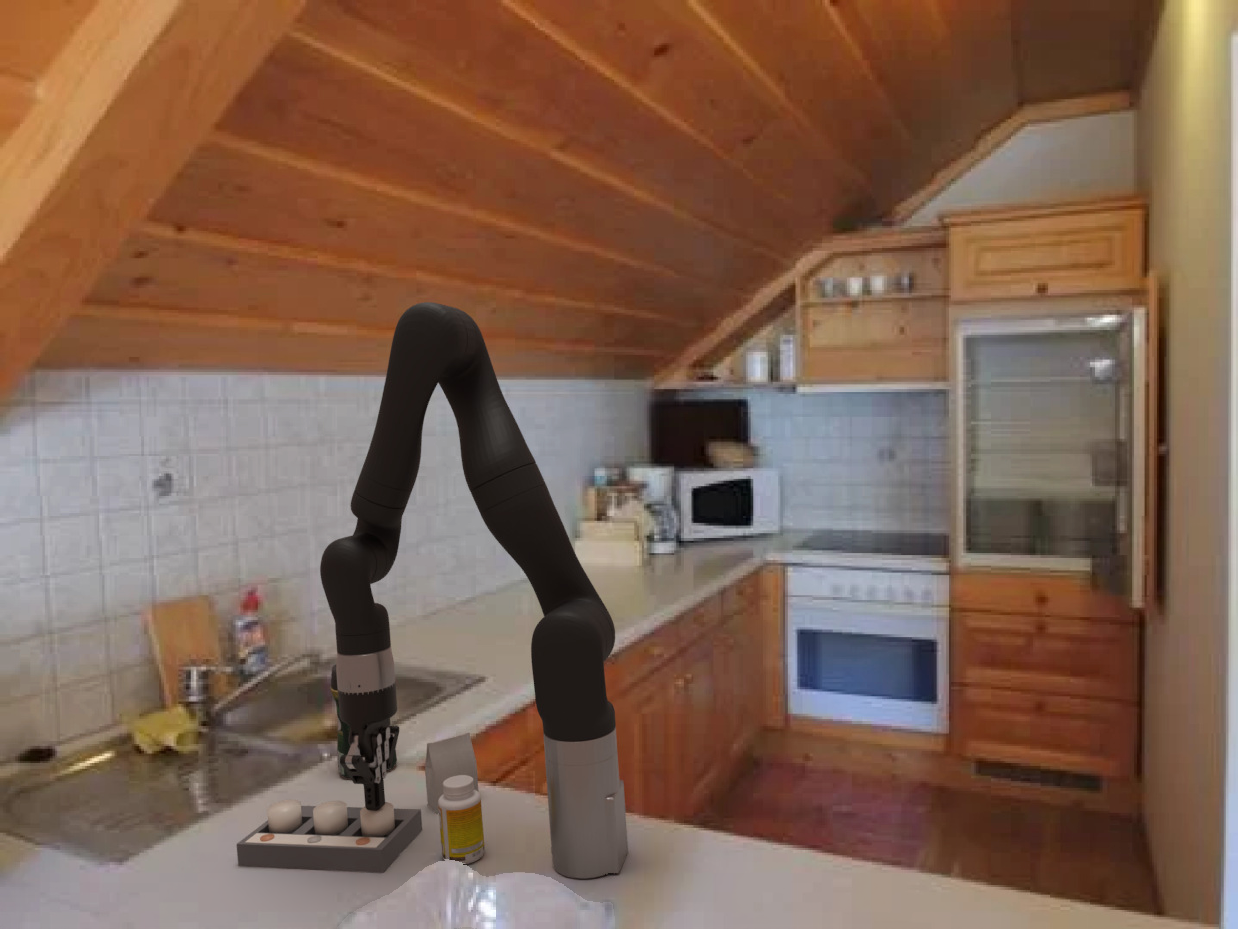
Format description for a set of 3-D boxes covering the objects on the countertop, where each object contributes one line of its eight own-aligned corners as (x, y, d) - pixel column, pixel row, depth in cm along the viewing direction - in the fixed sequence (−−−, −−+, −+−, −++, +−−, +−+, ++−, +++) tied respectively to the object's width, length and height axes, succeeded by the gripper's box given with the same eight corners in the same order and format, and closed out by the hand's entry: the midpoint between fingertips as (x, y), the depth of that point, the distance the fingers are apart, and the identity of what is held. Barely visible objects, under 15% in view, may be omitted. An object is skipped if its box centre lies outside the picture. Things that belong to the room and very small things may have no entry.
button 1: (308, 820, 127) (306, 800, 127) (291, 835, 123) (289, 813, 123) (280, 820, 128) (278, 799, 128) (262, 834, 124) (260, 812, 124)
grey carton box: (479, 800, 137) (474, 736, 136) (437, 814, 133) (432, 747, 133) (468, 793, 140) (464, 730, 139) (427, 806, 136) (422, 741, 136)
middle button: (354, 822, 126) (352, 801, 126) (338, 837, 121) (336, 815, 121) (325, 821, 127) (323, 800, 127) (308, 836, 122) (306, 814, 122)
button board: (422, 830, 128) (420, 807, 128) (383, 872, 116) (381, 847, 116) (289, 825, 132) (287, 803, 132) (238, 866, 121) (236, 842, 120)
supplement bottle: (493, 854, 119) (488, 778, 119) (459, 871, 115) (453, 793, 115) (467, 843, 123) (462, 769, 123) (433, 859, 119) (427, 783, 118)
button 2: (400, 824, 124) (399, 802, 124) (386, 838, 120) (384, 816, 120) (371, 823, 125) (369, 801, 125) (355, 837, 121) (354, 815, 121)
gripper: (368, 697, 114) (378, 831, 115) (413, 668, 127) (421, 788, 128) (314, 697, 116) (324, 829, 117) (364, 668, 129) (373, 787, 130)
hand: (375, 807), depth 122 cm, fingers closed
